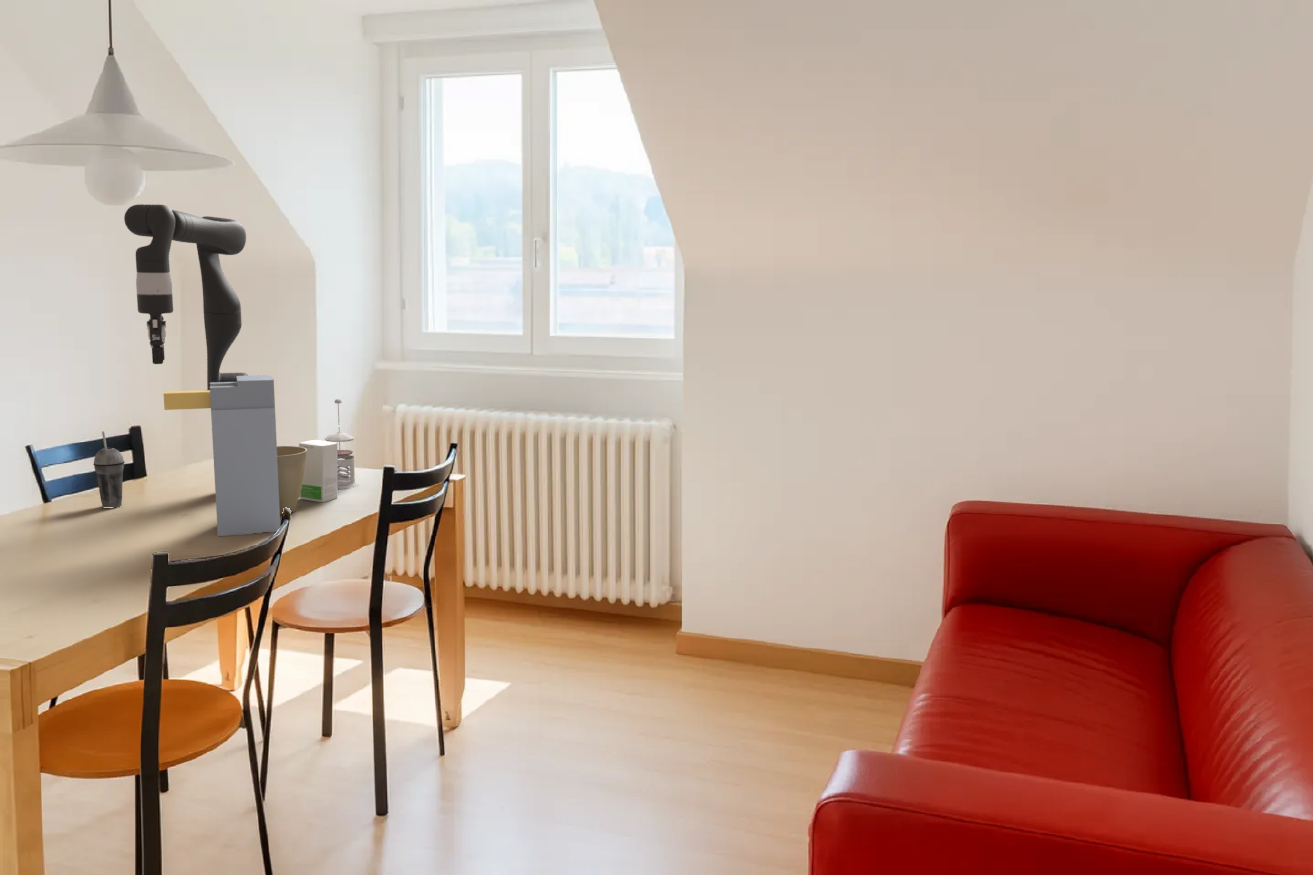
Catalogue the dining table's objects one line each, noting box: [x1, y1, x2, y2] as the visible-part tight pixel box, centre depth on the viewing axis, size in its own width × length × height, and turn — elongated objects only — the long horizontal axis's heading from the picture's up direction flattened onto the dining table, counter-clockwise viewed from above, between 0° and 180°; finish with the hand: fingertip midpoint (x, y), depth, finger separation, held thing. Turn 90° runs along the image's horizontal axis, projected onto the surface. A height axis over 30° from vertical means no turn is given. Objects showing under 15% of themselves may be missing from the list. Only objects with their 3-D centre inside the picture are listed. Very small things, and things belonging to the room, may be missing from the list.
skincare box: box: [298, 439, 339, 503], centre depth 298 cm, size 8×7×16 cm
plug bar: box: [163, 389, 211, 411], centre depth 260 cm, size 24×4×4 cm, turn 111°
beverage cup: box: [93, 431, 125, 508], centre depth 285 cm, size 7×7×20 cm
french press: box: [324, 398, 359, 490], centre depth 314 cm, size 10×12×25 cm
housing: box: [210, 374, 281, 537], centre depth 264 cm, size 14×11×37 cm
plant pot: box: [277, 445, 307, 515], centre depth 283 cm, size 15×15×16 cm
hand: (158, 362), depth 258 cm, fingers open, 8 cm apart
